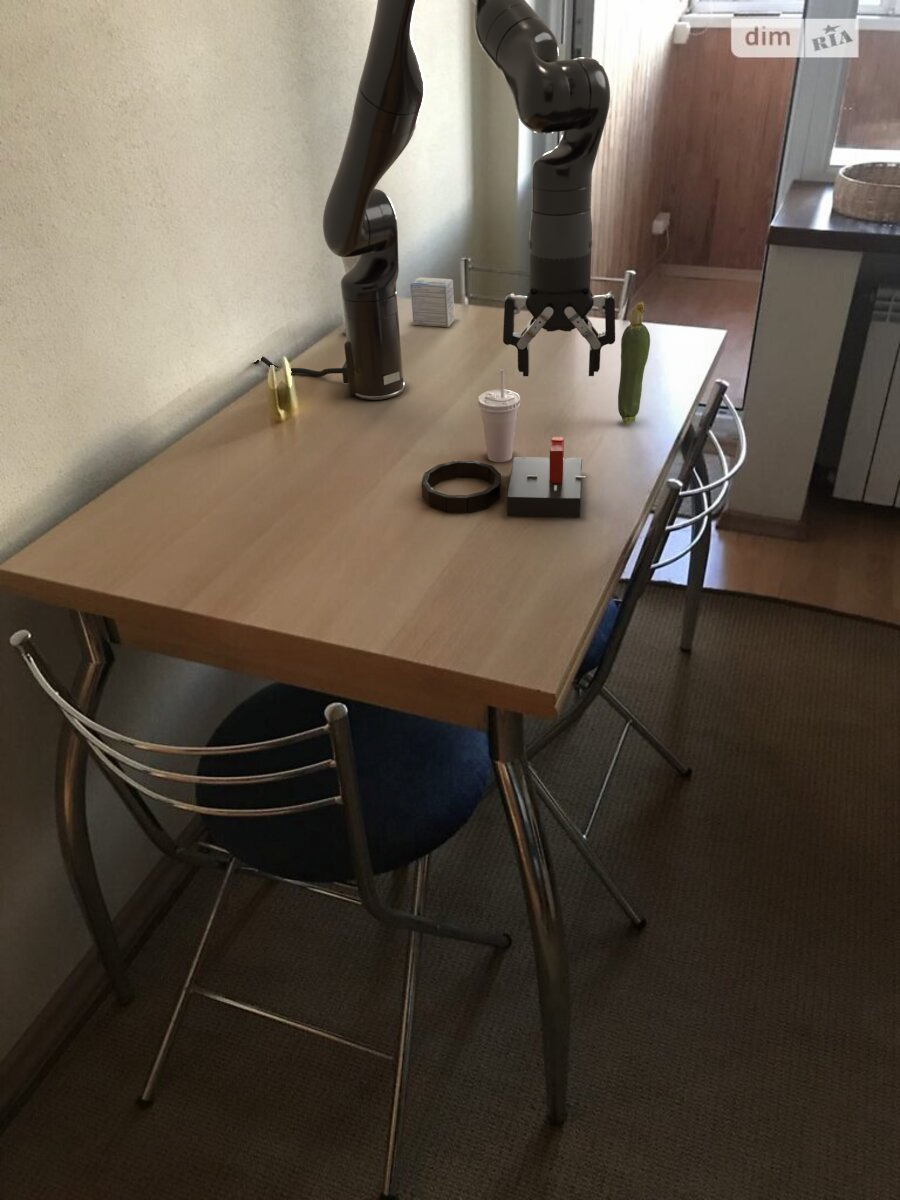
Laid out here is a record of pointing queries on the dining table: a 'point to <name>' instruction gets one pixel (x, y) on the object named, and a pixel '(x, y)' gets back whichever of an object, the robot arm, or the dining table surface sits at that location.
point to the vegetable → (633, 364)
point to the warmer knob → (556, 460)
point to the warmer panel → (544, 488)
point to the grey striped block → (432, 302)
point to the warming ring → (461, 501)
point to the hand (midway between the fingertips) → (558, 374)
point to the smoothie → (499, 421)
